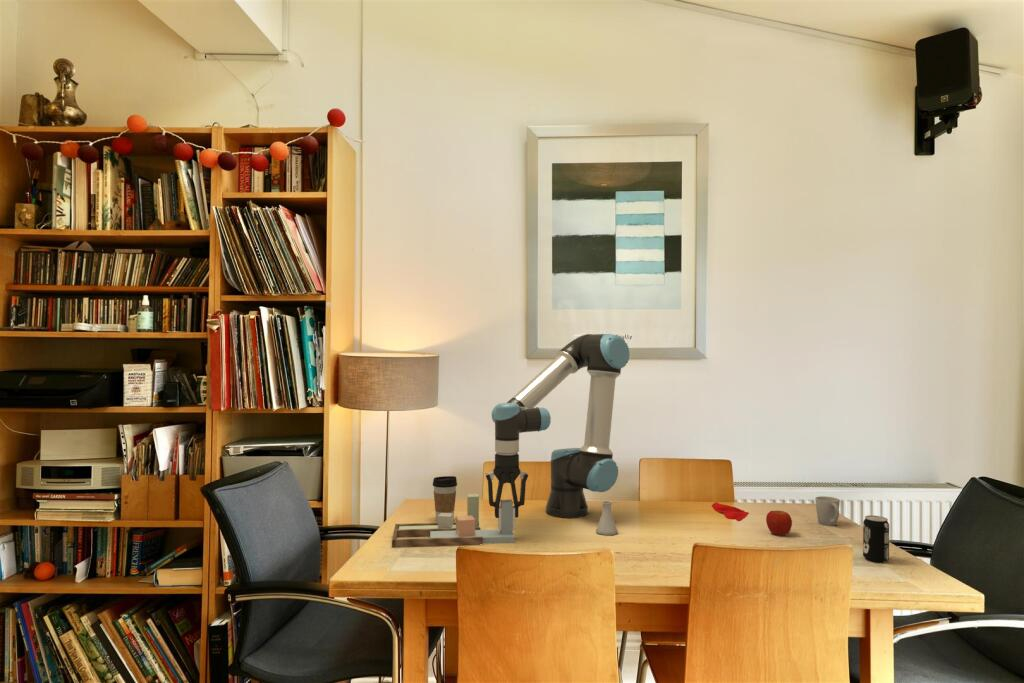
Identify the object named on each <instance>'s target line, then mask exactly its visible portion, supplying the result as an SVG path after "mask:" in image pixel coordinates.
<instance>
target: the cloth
mask: <svg viewBox="0 0 1024 683" xmlns="http://www.w3.org/2000/svg"><path fill="white" fill-rule="evenodd" d="M711 508H712V509H713V510H714V512H717V513H721V514H724V516H725V517H726V519H727V520H735V521H736V522H738V521H743V520H744V519H745V518H747V517H748V515H749V514H750V513H749V511H745V510H743V509H741V508H738V507H735V506H732V505H728V504H722V503H719V502H717V501H716V502H714V503H712V505H711Z"/></svg>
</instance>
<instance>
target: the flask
mask: <svg viewBox="0 0 1024 683" xmlns="http://www.w3.org/2000/svg"><path fill="white" fill-rule="evenodd" d="M601 503H602V512H601V514H600V518H599V520H598V524H597V526H596V529H595V532H596V534H599V535H604V536H614V535H616V534H619V532H618V529H617V526H616V523H615V519H614V517H613V512H612V504H613V502H612V501H611V500H602V502H601Z"/></svg>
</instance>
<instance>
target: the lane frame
mask: <svg viewBox="0 0 1024 683" xmlns="http://www.w3.org/2000/svg"><path fill="white" fill-rule="evenodd" d="M426 525H438V522H422V523H421V522H420V523H419V522H418V523H415V522H414V523H395V525H394V530H393V534H392V537H391V538H392V539H391V547H392V548H395V549H396V548H421V547H422V548H423V547H425V548H427V547H454V546H455V547H459V546H460V547H461V546H463V547H464V546H481V545H480V544H483V545H484V543H483V537H450V538H430V531H454V530H456V528H438V529H400V530H399V526H426ZM453 525H456V521H455V522H454V521H453ZM475 530H482V529H481V526H479V527H476V528H475Z"/></svg>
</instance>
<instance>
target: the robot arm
mask: <svg viewBox="0 0 1024 683" xmlns="http://www.w3.org/2000/svg"><path fill="white" fill-rule="evenodd" d="M629 360H630V348H629V345H628V343H627V342H626V340H625V339H624V338H623V337H622V336H621V335H619V334H613V333H612V334H611V333H595V334H594V333H591V334H589V333H586V334H582V335H580V336H578V337H576V338H575V339H573V340H571V341H570V342H568V343H567V344H566V345H564V346H563V347H562V348H561V349H560V350H558V352H556V355H555V359H553V360H552V361H551V362H550V363H549V364H548V365H546V366H545V367H544V368H543V370H541V371H540V372H539V373H537V374H536V375H535V376H534V378H532V379H531V380H530V381H529V382H528V383H527V384H526V385H525V386H523V387H522V388H521V389H520V390H519V391H518V392H517V393H516V394H515V395H514V396H512V397H511V398H510V399H509V400H508V401H507V402H501V403H498V404H496V405H495V406H494V407H493V409H492V411H491V419H492V422H493V423H494V437H495V438H494V452H495V454H494V468H493V470H492V471H491V472H489V473H485V478H486V480H487V491H488V492H487V494H488V504H489V506H490V507H494V517H495V519H497V529H501V506H500V500H502V493H503V488H504V484H510V489H511V494H512V501H513V530H515V529H516V518H518V517H519V508H520V507H521V506H524V505H525V500H526V498H525V497H526V484H527V480H528V477H529V474H528V473H527V472H523V471H521V469H520V455H519V452H520V434H521V433H530V432H531V433H532V432H538V433H539V432H541V431H546V430H547V429H549V427H550V426H551V422H552V421H551V420H552V417H551V414H550V411H549V410H548V409H547V408H545V407H539V406H537V405H538V404H539V403H541V401H542V400H544V398H546V397H547V396H548V395H549V394H550V393H551V392H552V391H553V390H554V389H556V388H557V386H559V385H560V384H561V383H562V382H563V381H564V380H565V379H566V378H568V376H570V374H571V375H572V374H575V373H577V372H578V371H579V370H581V369H583V368H587V369H586V372H587V373H588V374H589V376H590V383H589V392H588V403H587V410H586V411H587V412H586V422H585V431H584V432H585V434H584V440H583V441H584V443H583V445H582V446H581V447H571V448H569V447H568V448H559V449H558V448H557V449H554V450H552V451H551V454H550V456H551V457H550V492H549V496H548V499H547V502H546V505H545V513H546V514H547V515H549V516H553V517H556V518H564V519H565V518H566V519H567V518H570V519H571V518H581V517H585V516H587V515H588V513H589V507H588V503H587V500H586V496H585V493H584V490H585V489H586V490H588V491H590V492H592V493H593V492H595V493H596V492H597V493H604V492H608V491H609V490H611V488H612V487H614V485H615V484H616V483H617V480H618V476H619V466H618V465H617V463H616V461H615V460H614V459H613V456H614V453H613V451H612V449H611V448H610V443H611V442H610V440H611V429H612V418H613V410H614V400H615V398H614V397H615V389H616V388H615V387H616V379H617V378H618V377H620V376H621V371H622V369H623V368H625V367H626V365H627V364H628V363H629ZM494 476H495V477H496V479H497V480H498V481H497V482H498V485H497V489H496V494H495V500H494V490H493V489H494V488H493V480H494ZM518 477H519V478H520V491H519V500H518V494H517V488H516V483H515V481H516V480H517V478H518Z"/></svg>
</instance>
